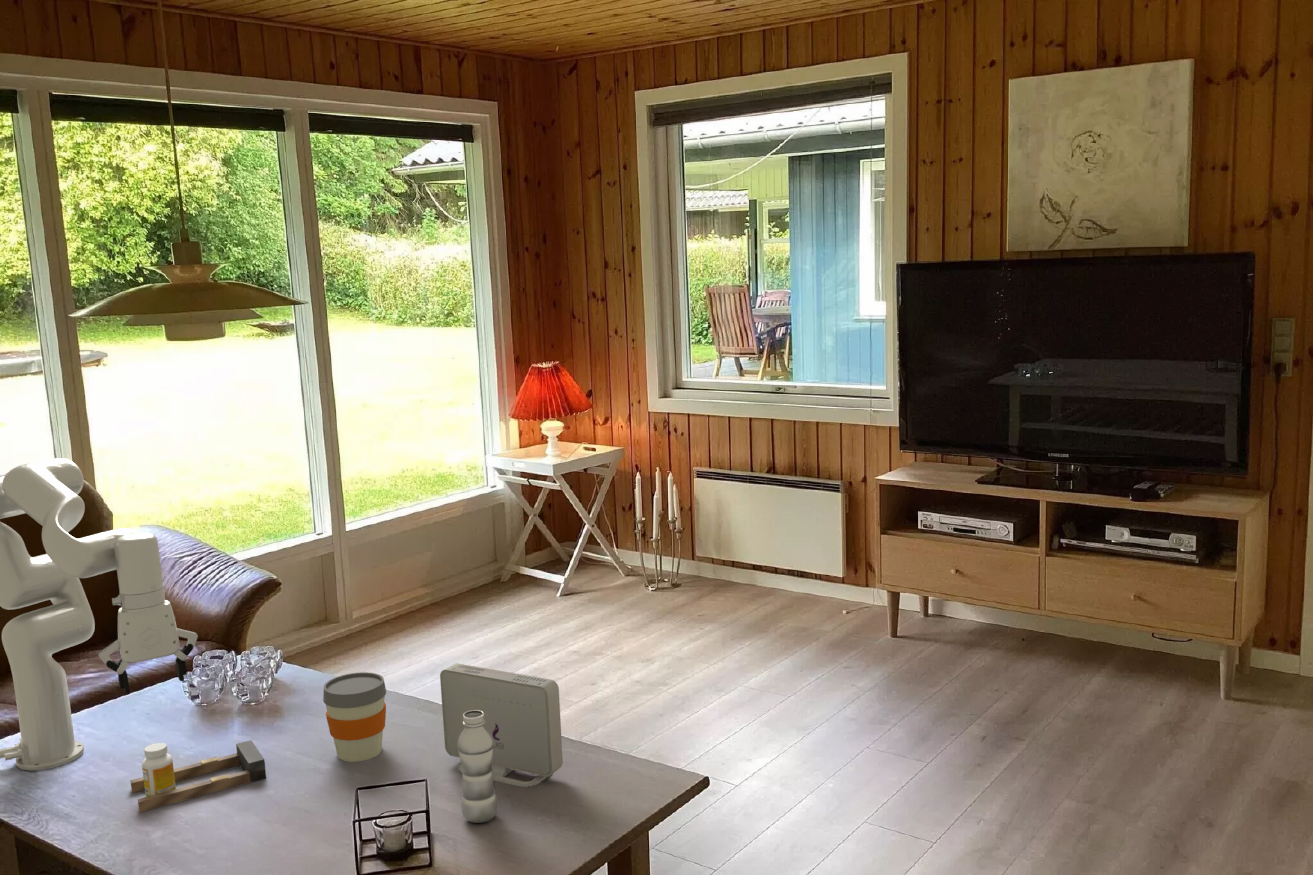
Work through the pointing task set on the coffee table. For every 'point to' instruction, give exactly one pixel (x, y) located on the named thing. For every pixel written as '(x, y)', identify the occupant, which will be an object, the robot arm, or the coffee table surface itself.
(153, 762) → the supplement bottle
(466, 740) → the plastic bottle
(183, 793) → the guide channel
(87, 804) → the coffee table surface
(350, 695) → the reusable coffee cup
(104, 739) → the coffee table surface
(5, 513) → the robot arm
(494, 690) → the network device
